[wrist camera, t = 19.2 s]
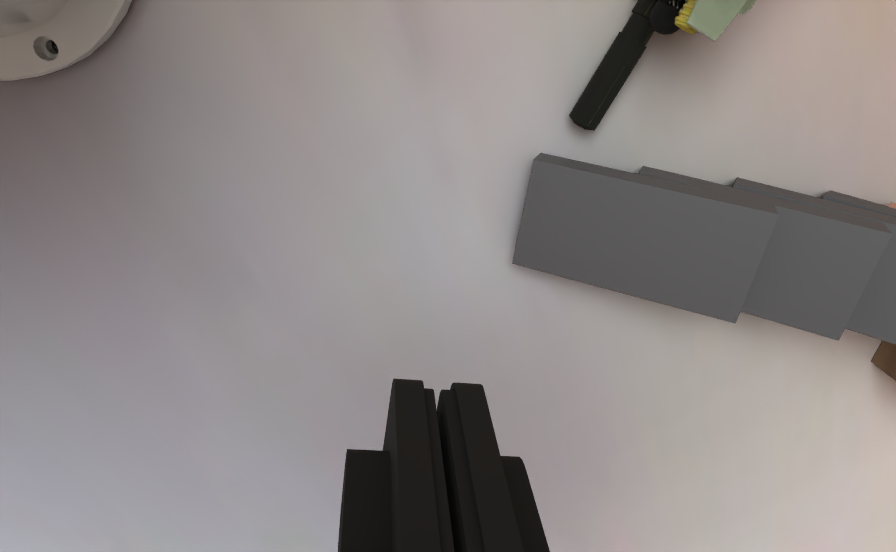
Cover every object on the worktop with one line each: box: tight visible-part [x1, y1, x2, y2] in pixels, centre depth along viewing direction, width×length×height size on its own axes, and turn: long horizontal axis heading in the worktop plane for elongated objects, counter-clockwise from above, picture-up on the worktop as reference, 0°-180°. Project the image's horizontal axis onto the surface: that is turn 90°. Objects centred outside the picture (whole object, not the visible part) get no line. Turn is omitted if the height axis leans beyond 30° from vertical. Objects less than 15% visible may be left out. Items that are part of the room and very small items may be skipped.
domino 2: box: [639, 166, 892, 340], centre depth 27 cm, size 2×5×10 cm
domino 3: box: [733, 178, 896, 345], centre depth 27 cm, size 2×5×10 cm
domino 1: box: [512, 153, 779, 323], centre depth 27 cm, size 2×5×10 cm
